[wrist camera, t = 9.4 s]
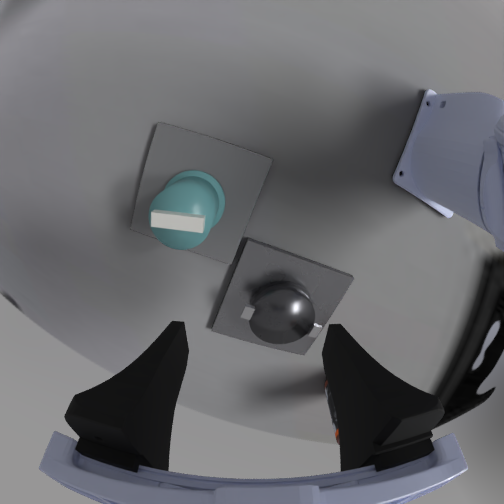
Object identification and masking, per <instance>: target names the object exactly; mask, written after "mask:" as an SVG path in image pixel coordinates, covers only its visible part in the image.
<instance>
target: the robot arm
mask: <svg viewBox="0 0 504 504" xmlns="http://www.w3.org/2000/svg"><path fill="white" fill-rule="evenodd" d="M426 102H428V106H427V104H426ZM400 171H402V175H401V176H400V175H399V172H400ZM393 182H394V183H395V184H397V185H398V186H400V187H402V188H403V189H405V190H406V191H408V192H410V193H411V194H413V195H414V196H416V197H417V198H419V199H421V200H422V201H424V202H425V203H427V204H428V205H430V206H431V207H432V208H434V209H435V210H437V211H438V212H440V213H441V214H443V215H444V216H445V217H447V218H450V217H451V216H452V215H453V213H456V214H458V215H460V216H462V217H463V218H465V219H467V220H469V221H470V222H472V223H474V224H476V225H477V226H479V227H481V228H482V229H484V230H486V231H487V232H489V233H490V234H492V235H493V236H494V238H495V242H496V247H498V248H499V249H501V250H502V251H503V252H504V100H502V99H500V98H498V97H496V96H493V95H490V94H487V93H482V92H465V93H448V94H436V93H435V92H434V91H433V90H431V89H428V90H426V91H425V94H424V97H423V100H422V103H421V106H420V109H419V112H418V114H417V117H416V120H415V123H414V125H413V128H412V131H411V133H410V136H409V139H408V141H407V144H406V146H405V149H404V151H403V154H402V156H401V158H400V161H399V163H398V166H397V168H396V170H395V173H394V175H393ZM188 354H189V348H188V342H187V336H186V330H185V324H184V322H180V321H172V322H171V323H170V324H169V325H168V326H167V328H166V329H165V330H164V331H163V332H162V333H161V334H160V336H159V337H158V338H157V339H156V340H155V341H154V342H153V343H152V344H151V345H150V346H149V347H148V349H147V350H145V351H144V352H143V353H142V354H141V355H140V356H139V357H138V358H137V359H136V360H135V361H134V362H132V363H131V364H130V365H129V366H128V367H126V368H125V369H124V370H122V371H121V372H119V373H118V374H116V375H115V376H113V377H112V378H110V379H109V380H107V381H105V382H103V383H101V384H99V385H97V386H95V387H93V388H91V389H89V390H86V391H84V392H81V393H79V394H76V395H75V396H74V397H73V399H72V401H71V403H70V405H69V407H68V410H67V412H66V414H65V420H66V422H67V423H68V424H69V426H70V427H71V428H72V429H73V430H74V431H75V432H76V433H77V434H78V435H79V437H80V438H79V441H78V442H77V441H76V440H74V439H73V438H70V437H68V436H66V435H63V434H61V433H59V432H57V431H54V433H53V435H52V437H51V440H50V442H49V444H48V446H47V449H46V451H45V454H44V456H43V459H42V461H41V464H40V466H39V469H40V470H41V471H42V472H44V473H45V474H46V475H48V476H49V477H51V478H52V479H54V480H55V481H57V482H58V483H60V484H61V485H63V486H65V487H66V488H68V489H70V490H73V491H75V492H77V493H79V494H81V495H84V496H86V497H88V498H90V499H93V500H95V501H98V502H100V503H103V504H404V503H406V502H409V501H411V500H414V499H416V498H418V497H421V496H422V495H425V494H428V493H430V492H432V491H434V490H436V489H438V488H440V487H442V486H443V485H445V484H447V483H448V482H450V481H451V480H453V479H454V478H456V477H457V476H459V475H460V474H462V473H463V472H464V471H466V470H467V469H468V466H467V464H466V461H465V458H464V456H463V453H462V451H461V449H460V446H459V444H458V441H457V439H456V437H455V435H454V433H451V434H449V435H446V436H444V437H441V438H439V439H437V440H435V441H434V442H432V441H431V440H430V438H431V437H432V436H433V434H432V432H431V430H432V428H433V427H434V426H435V425H436V424H437V423H438V422H439V421H440V420H441V418H442V417H443V415H444V412H445V411H444V408H443V406H442V404H441V402H440V400H439V398H438V397H437V396H434V395H432V394H429V393H426V392H424V391H422V390H419V389H417V388H415V387H413V386H411V385H410V384H408V383H406V382H404V381H403V380H401V379H400V378H398V377H396V376H395V375H393V374H392V373H391V372H389V371H388V370H387V369H385V368H384V367H383V366H382V365H380V364H379V363H378V362H377V361H376V360H375V359H374V358H372V357H371V356H370V355H369V354H368V353H367V352H366V351H365V350H364V349H363V348H362V347H361V346H360V345H359V344H358V343H357V342H356V340H355V339H354V338H353V337H352V336H351V335H350V334H349V333H348V332H347V331H346V329H345V328H344V327H343V326H342V325H341V324H329V327H328V331H327V335H326V339H325V343H324V347H323V351H322V357H323V364H324V370H325V374H326V377H327V381H328V384H329V388H330V391H331V395H332V398H333V402H334V406H335V410H336V416H337V423H338V432H339V442H340V459H341V472H336V473H330V474H324V475H316V476H307V477H295V478H279V479H233V478H216V477H205V476H197V475H188V474H182V473H176V472H169V471H168V467H169V451H170V440H171V432H172V423H173V417H174V410H175V406H176V402H177V398H178V395H179V391H180V388H181V384H182V381H183V377H184V374H185V370H186V366H187V360H188Z"/></svg>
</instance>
